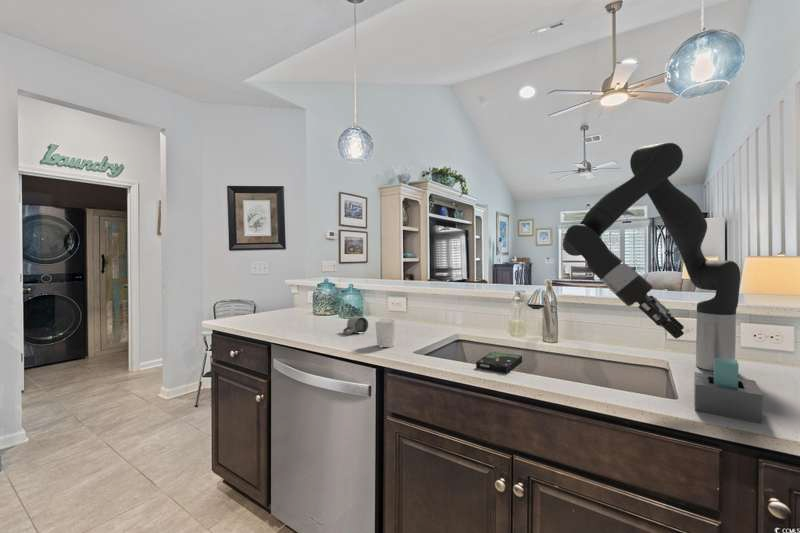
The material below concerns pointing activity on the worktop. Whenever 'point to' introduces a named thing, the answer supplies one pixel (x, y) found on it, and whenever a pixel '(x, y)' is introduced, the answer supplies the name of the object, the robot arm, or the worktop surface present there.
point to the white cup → (385, 332)
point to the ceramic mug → (356, 325)
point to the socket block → (728, 398)
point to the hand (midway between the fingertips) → (680, 333)
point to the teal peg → (726, 372)
